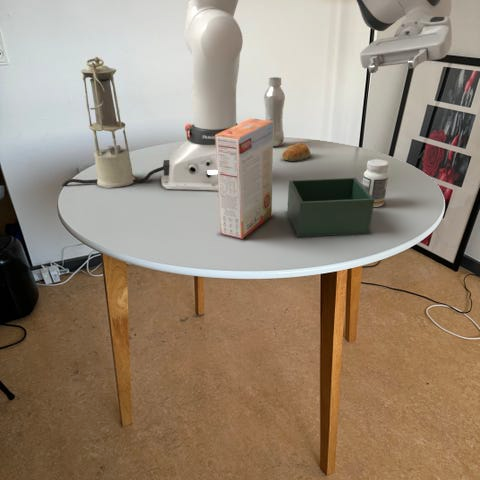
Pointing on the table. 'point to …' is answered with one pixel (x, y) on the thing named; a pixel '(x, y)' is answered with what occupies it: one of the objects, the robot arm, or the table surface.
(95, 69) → the lamp
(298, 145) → the pastry
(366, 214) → the bin
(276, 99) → the plastic bottle
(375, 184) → the pill bottle
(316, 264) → the table surface
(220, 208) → the cracker box
